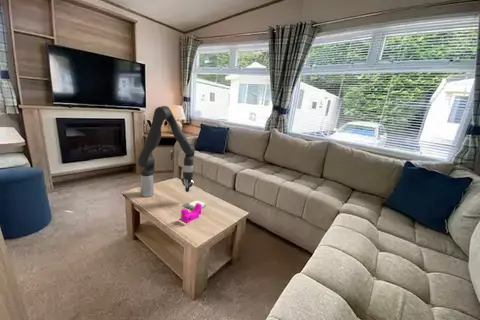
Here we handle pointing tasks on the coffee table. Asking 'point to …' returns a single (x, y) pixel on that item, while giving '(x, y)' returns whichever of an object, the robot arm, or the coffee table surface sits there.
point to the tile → (192, 205)
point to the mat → (189, 207)
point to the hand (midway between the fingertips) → (187, 191)
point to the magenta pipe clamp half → (191, 213)
